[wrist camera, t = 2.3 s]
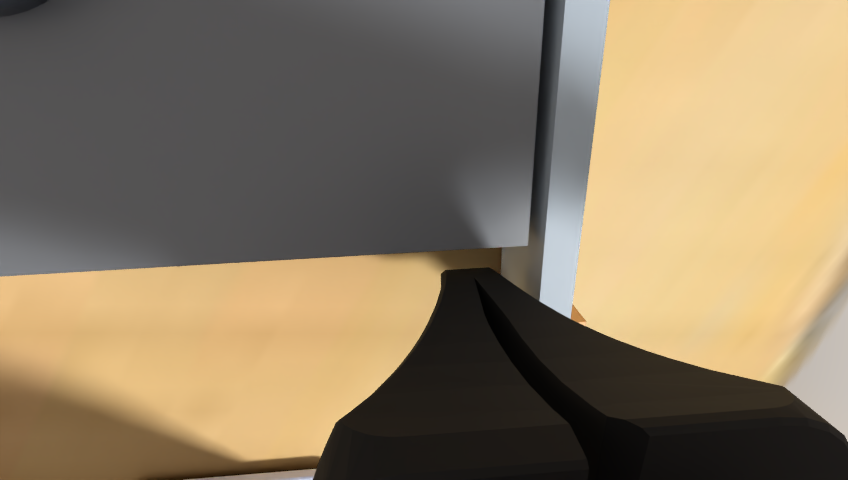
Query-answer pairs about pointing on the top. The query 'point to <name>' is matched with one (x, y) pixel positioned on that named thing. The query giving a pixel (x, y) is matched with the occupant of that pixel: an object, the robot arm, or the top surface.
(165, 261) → the grey flat block
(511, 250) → the side door
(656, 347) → the top surface
